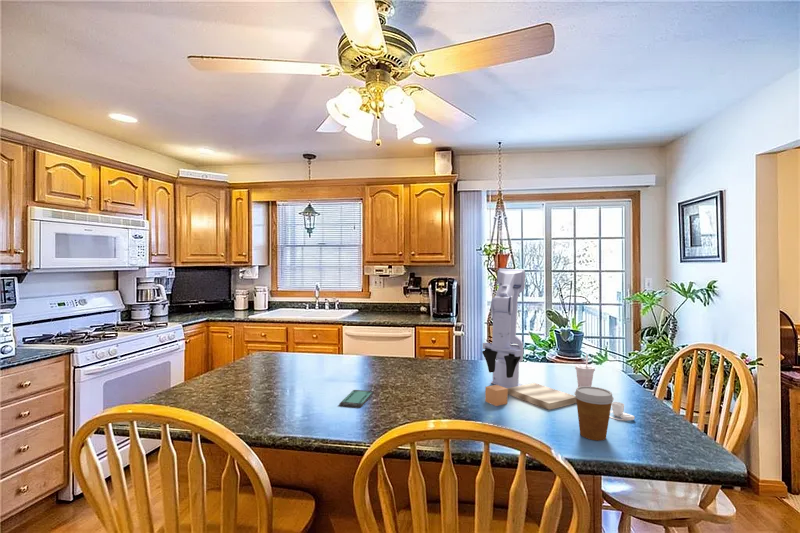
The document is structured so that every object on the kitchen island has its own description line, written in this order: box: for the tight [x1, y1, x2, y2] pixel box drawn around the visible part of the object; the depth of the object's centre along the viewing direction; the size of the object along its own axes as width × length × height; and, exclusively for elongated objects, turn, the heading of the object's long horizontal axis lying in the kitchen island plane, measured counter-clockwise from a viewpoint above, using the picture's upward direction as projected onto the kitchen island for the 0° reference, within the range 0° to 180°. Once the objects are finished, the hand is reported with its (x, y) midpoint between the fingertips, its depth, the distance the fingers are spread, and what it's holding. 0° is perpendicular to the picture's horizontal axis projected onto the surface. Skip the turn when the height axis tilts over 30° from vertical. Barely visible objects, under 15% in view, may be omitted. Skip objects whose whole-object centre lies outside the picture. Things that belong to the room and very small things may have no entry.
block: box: [484, 384, 509, 407], centre depth 135 cm, size 5×5×5 cm
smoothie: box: [574, 354, 596, 388], centre depth 146 cm, size 6×6×14 cm
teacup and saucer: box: [609, 401, 635, 422], centre depth 125 cm, size 9×8×4 cm
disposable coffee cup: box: [574, 386, 615, 441], centre depth 110 cm, size 10×10×12 cm
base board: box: [507, 382, 577, 410], centre depth 141 cm, size 18×14×2 cm
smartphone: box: [339, 389, 374, 409], centre depth 136 cm, size 7×1×15 cm
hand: (500, 374), depth 134 cm, fingers open, 7 cm apart
